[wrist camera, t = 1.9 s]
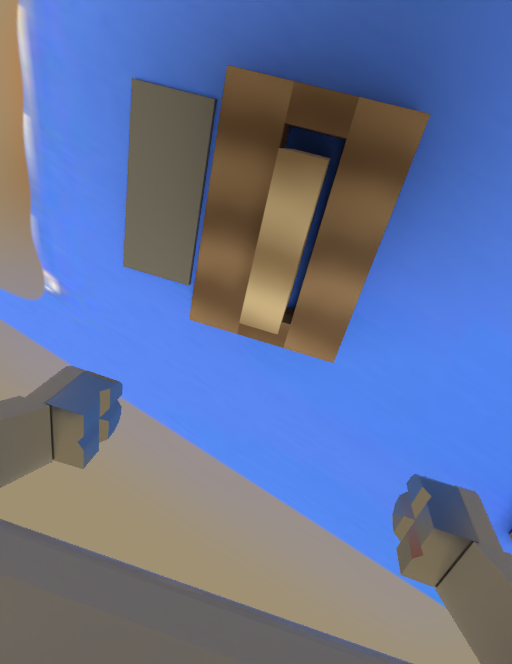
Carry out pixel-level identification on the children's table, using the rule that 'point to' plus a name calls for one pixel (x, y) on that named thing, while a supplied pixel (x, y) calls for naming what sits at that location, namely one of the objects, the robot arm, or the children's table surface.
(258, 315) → the oak cover plate
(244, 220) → the walnut case
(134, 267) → the grey flat slab
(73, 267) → the children's table surface
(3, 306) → the children's table surface
